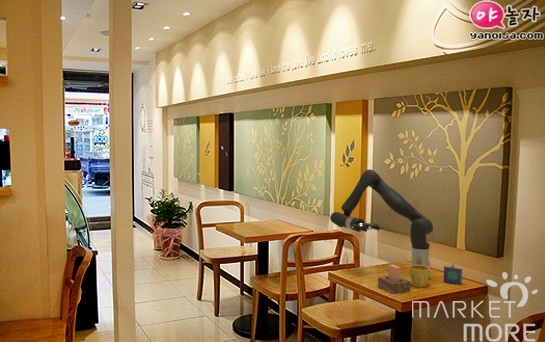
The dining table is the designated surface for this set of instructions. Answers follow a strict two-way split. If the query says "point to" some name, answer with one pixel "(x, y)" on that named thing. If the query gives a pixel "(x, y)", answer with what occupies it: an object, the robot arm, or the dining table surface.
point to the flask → (453, 275)
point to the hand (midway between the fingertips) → (373, 229)
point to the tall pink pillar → (394, 273)
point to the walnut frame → (394, 285)
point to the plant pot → (419, 275)
